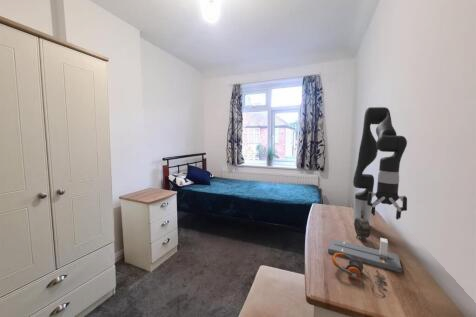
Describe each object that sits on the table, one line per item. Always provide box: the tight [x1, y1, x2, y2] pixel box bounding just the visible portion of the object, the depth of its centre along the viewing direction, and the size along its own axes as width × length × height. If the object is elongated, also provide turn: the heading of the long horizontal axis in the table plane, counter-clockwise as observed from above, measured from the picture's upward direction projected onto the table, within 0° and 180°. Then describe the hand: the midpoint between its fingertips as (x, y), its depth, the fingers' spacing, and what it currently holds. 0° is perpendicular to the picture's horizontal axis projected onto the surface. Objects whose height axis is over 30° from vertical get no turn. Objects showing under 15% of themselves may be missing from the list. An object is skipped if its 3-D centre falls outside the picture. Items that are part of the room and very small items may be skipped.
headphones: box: [331, 253, 388, 297], centre depth 83 cm, size 17×5×20 cm
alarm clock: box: [353, 210, 371, 243], centre depth 114 cm, size 11×5×16 cm, turn 168°
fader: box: [378, 237, 389, 259], centre depth 93 cm, size 5×3×7 cm, turn 148°
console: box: [327, 238, 402, 273], centre depth 97 cm, size 12×28×2 cm, turn 58°
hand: (385, 216), depth 92 cm, fingers open, 8 cm apart
